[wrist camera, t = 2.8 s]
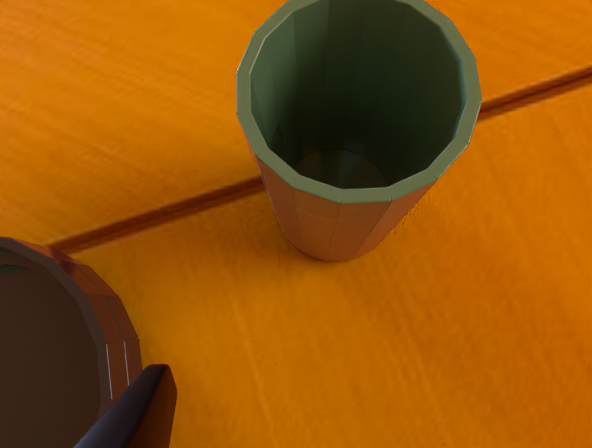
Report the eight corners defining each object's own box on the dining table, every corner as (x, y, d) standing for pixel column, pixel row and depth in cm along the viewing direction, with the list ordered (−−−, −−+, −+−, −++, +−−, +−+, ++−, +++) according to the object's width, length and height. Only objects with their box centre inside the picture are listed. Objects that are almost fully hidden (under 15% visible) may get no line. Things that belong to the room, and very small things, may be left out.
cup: (419, 198, 23) (531, 75, 11) (339, 287, 22) (370, 255, 10) (329, 124, 24) (345, -57, 12) (250, 206, 23) (186, 95, 11)
